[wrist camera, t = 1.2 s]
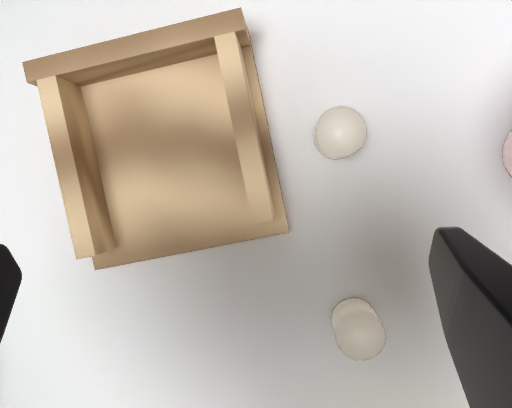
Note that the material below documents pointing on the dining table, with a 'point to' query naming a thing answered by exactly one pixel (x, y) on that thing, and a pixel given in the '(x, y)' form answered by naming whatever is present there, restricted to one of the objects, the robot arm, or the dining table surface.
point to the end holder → (161, 141)
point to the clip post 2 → (358, 329)
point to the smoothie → (508, 153)
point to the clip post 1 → (340, 132)
